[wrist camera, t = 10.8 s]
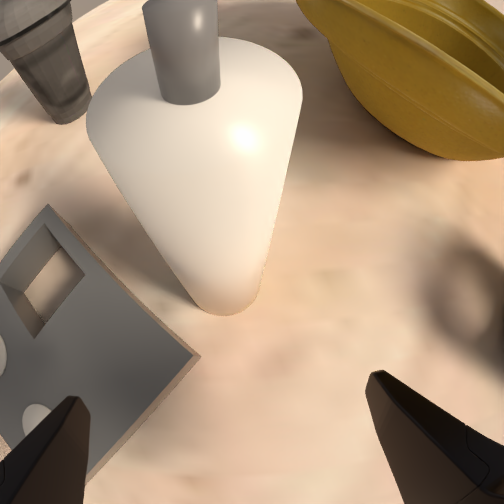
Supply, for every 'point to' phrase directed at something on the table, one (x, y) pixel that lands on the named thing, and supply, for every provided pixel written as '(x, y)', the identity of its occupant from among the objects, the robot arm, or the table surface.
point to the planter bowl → (423, 69)
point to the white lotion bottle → (200, 148)
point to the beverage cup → (46, 55)
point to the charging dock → (81, 346)
